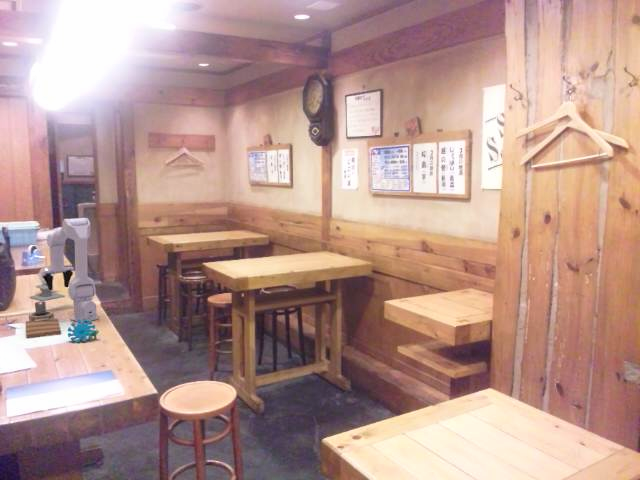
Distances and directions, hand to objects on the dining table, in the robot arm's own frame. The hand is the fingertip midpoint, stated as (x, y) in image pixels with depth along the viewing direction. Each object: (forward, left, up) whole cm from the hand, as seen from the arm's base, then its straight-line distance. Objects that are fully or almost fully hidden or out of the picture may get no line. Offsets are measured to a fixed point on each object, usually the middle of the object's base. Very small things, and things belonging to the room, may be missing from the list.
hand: (58, 288), depth 251 cm
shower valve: (+27, -8, -10) cm, 30 cm away
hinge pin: (-14, +16, -9) cm, 23 cm away
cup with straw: (+34, -12, -10) cm, 38 cm away
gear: (-52, +20, -10) cm, 57 cm away
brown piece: (-23, +20, -9) cm, 32 cm away
